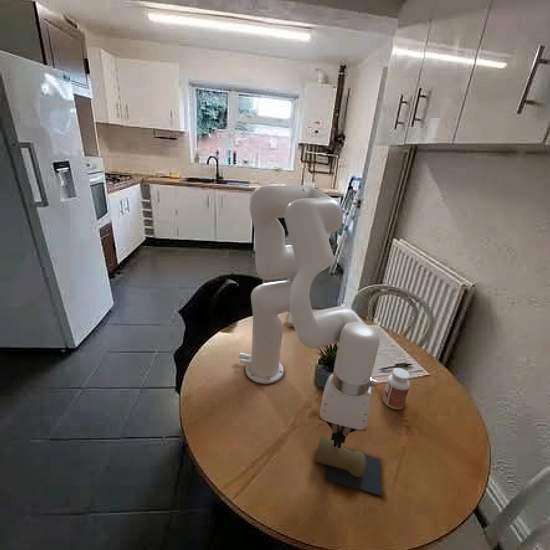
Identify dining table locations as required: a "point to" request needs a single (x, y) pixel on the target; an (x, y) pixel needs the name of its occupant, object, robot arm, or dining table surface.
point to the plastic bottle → (289, 319)
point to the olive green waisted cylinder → (340, 457)
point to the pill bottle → (396, 388)
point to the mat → (364, 483)
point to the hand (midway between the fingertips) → (337, 442)
